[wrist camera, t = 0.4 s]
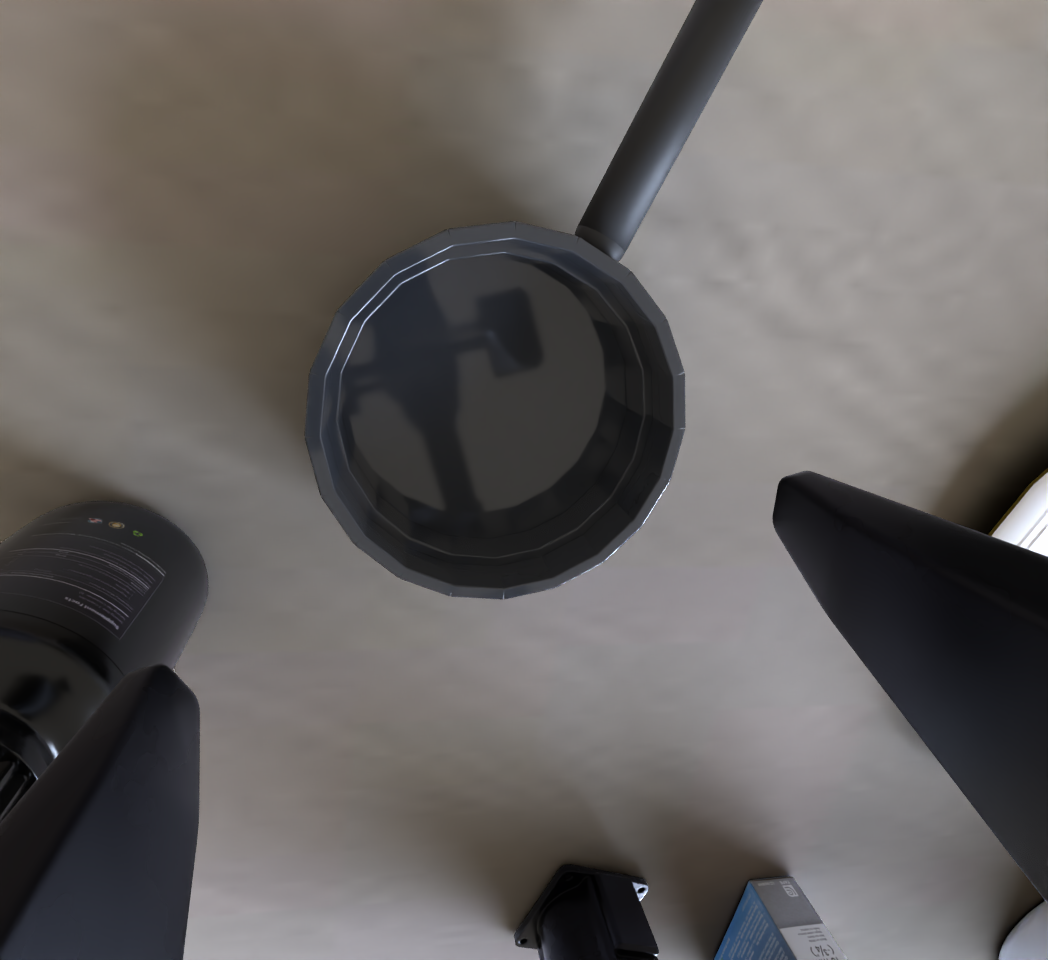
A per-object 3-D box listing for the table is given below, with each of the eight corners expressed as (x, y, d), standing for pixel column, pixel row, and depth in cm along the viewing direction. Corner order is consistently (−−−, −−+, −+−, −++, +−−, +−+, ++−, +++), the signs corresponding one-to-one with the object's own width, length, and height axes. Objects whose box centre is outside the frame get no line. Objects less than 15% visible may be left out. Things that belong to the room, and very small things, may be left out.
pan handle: (599, 278, 20) (618, 279, 19) (558, 251, 20) (573, 250, 18) (771, -38, 18) (809, -69, 16) (730, -80, 17) (766, -115, 16)
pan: (546, 586, 27) (572, 640, 23) (267, 478, 22) (241, 523, 18) (694, 336, 24) (752, 350, 20) (411, 155, 20) (416, 129, 16)
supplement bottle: (187, 664, 24) (20, 994, 13) (-3, 624, 22) (-397, 981, 11) (237, 526, 23) (93, 770, 12) (37, 467, 20) (-375, 701, 9)
